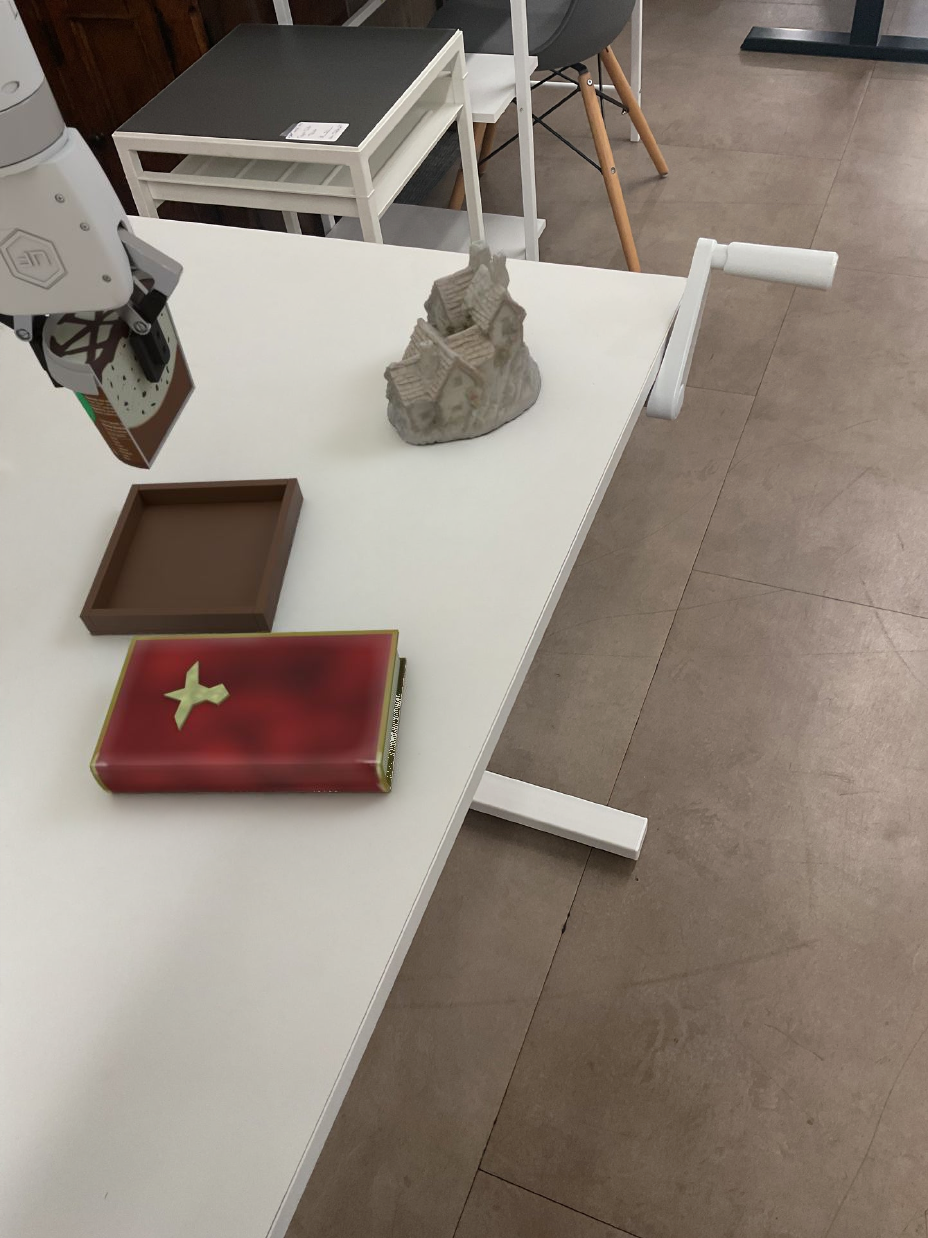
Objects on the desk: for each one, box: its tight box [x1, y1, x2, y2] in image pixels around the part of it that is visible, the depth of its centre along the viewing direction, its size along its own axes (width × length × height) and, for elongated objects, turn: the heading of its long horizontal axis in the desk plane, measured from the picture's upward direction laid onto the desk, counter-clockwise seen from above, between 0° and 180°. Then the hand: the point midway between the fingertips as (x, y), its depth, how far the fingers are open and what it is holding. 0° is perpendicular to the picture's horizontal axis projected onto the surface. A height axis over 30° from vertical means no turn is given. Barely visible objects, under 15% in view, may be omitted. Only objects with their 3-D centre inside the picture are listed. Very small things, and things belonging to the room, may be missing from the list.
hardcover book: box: [89, 628, 407, 794], centre depth 75 cm, size 12×21×4 cm, turn 86°
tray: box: [79, 477, 304, 636], centre depth 87 cm, size 16×16×2 cm
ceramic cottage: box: [383, 238, 542, 446], centre depth 94 cm, size 16×16×15 cm
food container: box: [42, 271, 196, 470], centre depth 73 cm, size 12×6×10 cm, turn 168°
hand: (112, 371), depth 73 cm, fingers closed on food container, 6 cm apart
